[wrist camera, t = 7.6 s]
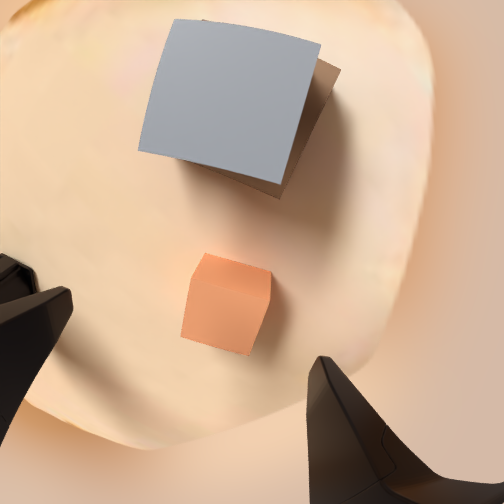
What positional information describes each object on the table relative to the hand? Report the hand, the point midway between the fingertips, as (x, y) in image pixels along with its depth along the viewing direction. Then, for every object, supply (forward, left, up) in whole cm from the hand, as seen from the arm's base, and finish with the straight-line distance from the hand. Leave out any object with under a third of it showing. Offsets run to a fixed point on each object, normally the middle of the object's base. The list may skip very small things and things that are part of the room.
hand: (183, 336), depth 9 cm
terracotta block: (-5, -1, -12) cm, 13 cm away
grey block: (+8, +1, -8) cm, 11 cm away
